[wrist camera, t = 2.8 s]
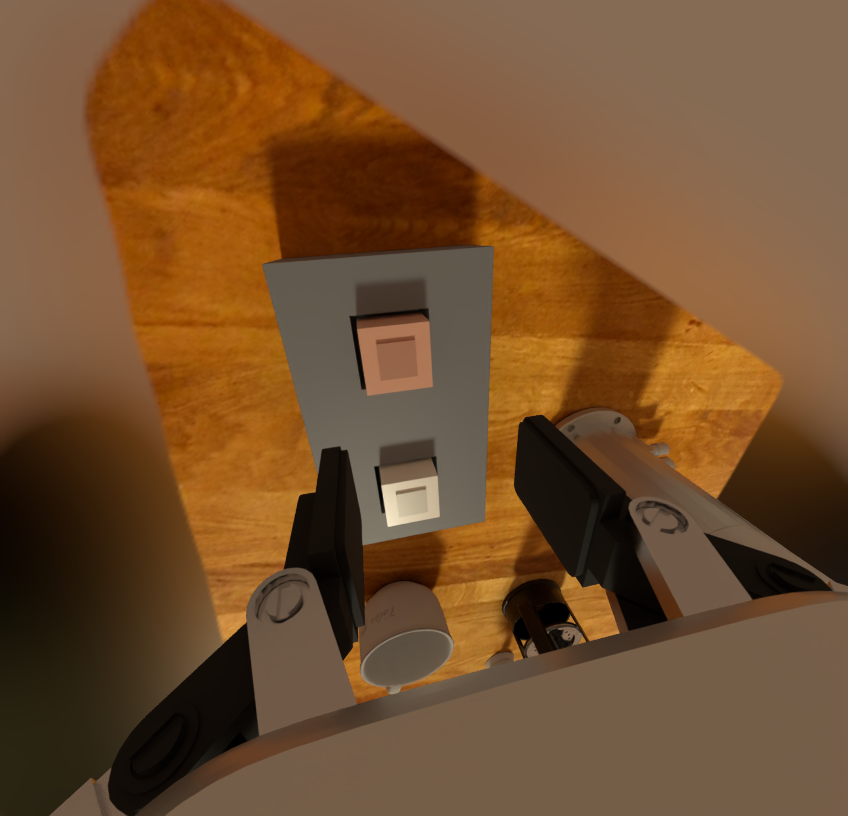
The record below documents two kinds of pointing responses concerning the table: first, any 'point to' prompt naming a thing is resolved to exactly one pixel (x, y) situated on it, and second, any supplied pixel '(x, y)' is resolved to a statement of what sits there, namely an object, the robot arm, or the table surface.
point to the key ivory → (410, 491)
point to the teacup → (403, 636)
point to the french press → (541, 618)
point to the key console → (405, 410)
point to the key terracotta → (395, 352)
